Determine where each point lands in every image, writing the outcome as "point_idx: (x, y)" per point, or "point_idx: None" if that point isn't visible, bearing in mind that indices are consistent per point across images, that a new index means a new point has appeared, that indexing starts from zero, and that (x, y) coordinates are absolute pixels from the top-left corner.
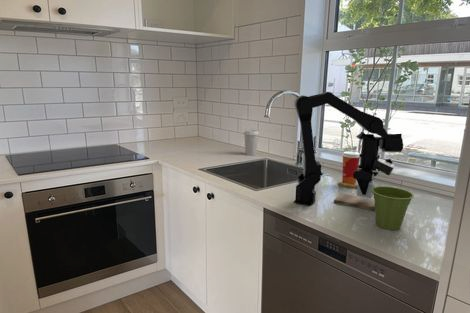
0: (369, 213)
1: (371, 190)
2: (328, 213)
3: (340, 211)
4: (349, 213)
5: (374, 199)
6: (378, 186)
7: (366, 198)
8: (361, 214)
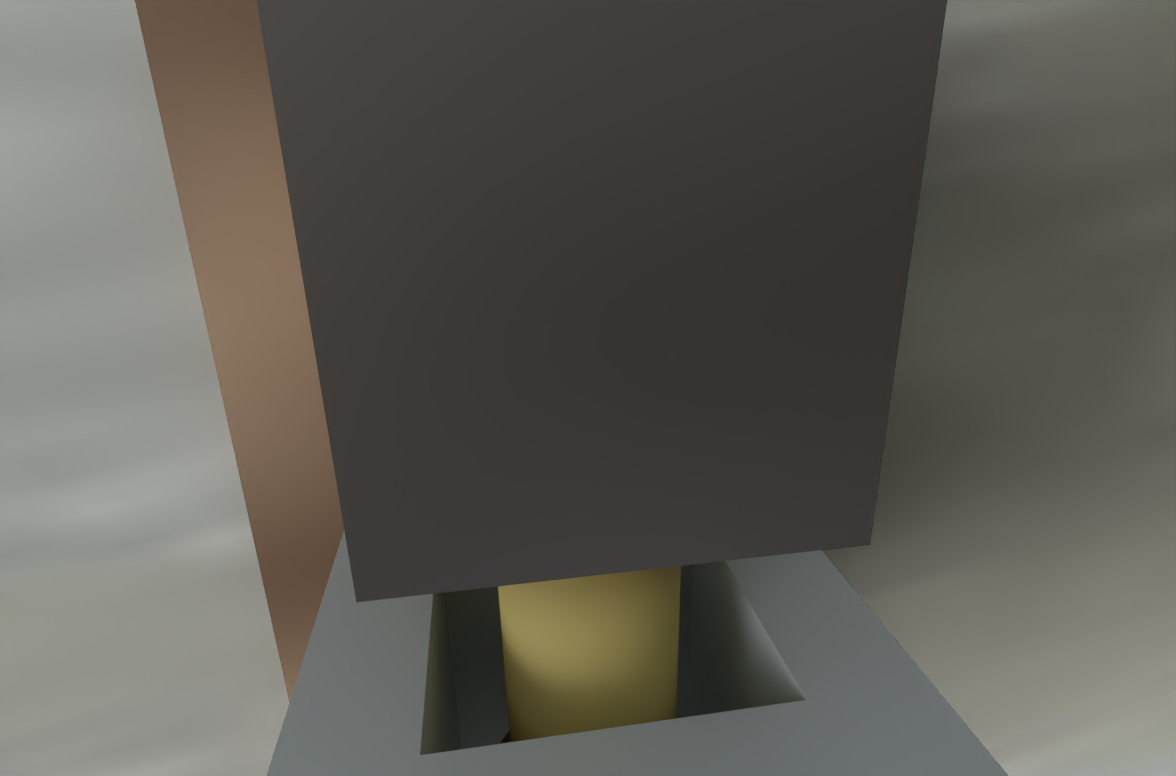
0: (972, 302)
1: (871, 623)
2: (1172, 737)
3: (1052, 666)
4: (1087, 552)
5: (237, 415)
6: (556, 554)
7: (306, 573)
8: (1068, 400)
